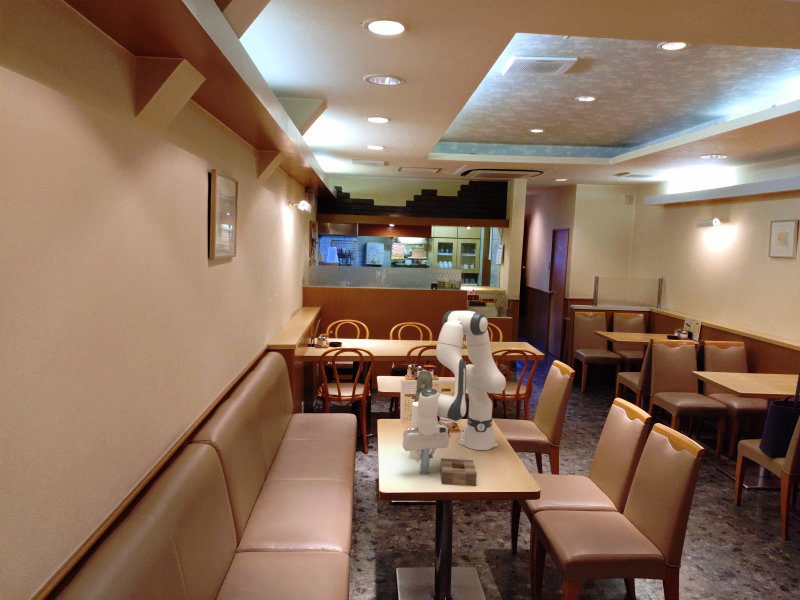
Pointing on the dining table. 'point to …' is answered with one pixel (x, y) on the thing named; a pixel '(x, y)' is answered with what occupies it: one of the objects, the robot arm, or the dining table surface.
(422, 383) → the thermos
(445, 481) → the socket block
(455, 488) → the dining table surface
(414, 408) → the cylindrical container
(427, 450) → the peg
